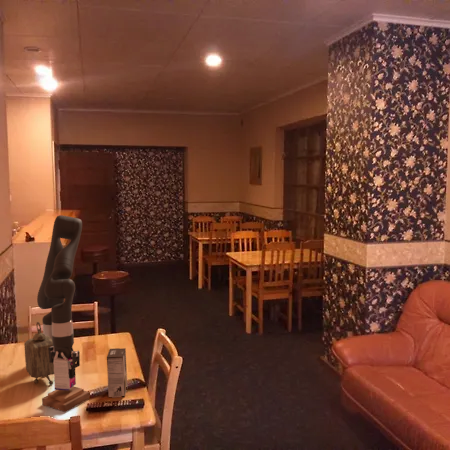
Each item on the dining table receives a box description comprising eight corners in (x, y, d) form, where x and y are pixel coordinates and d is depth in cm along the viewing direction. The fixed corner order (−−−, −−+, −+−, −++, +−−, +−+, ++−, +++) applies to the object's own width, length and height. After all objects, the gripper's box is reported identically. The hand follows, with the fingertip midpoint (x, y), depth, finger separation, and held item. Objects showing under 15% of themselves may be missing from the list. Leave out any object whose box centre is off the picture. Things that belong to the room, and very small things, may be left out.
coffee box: (111, 387, 199) (109, 348, 197) (127, 386, 200) (126, 347, 198) (108, 398, 190) (106, 356, 188) (125, 397, 191) (123, 356, 189)
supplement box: (69, 390, 184) (67, 360, 183) (54, 389, 185) (52, 359, 184) (76, 384, 190) (75, 354, 188) (62, 383, 191) (60, 354, 189)
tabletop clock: (56, 385, 202) (53, 325, 200) (33, 391, 197) (29, 329, 195) (48, 373, 214) (45, 316, 212) (26, 378, 210) (22, 320, 207)
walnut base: (42, 404, 186) (41, 394, 185) (67, 392, 196) (66, 382, 195) (65, 411, 180) (65, 401, 179) (89, 398, 190) (89, 388, 190)
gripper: (40, 332, 185) (43, 376, 187) (68, 338, 178) (71, 383, 180) (56, 327, 192) (59, 369, 194) (84, 332, 185) (86, 375, 187)
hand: (65, 375), depth 187 cm, fingers closed on supplement box, 6 cm apart
